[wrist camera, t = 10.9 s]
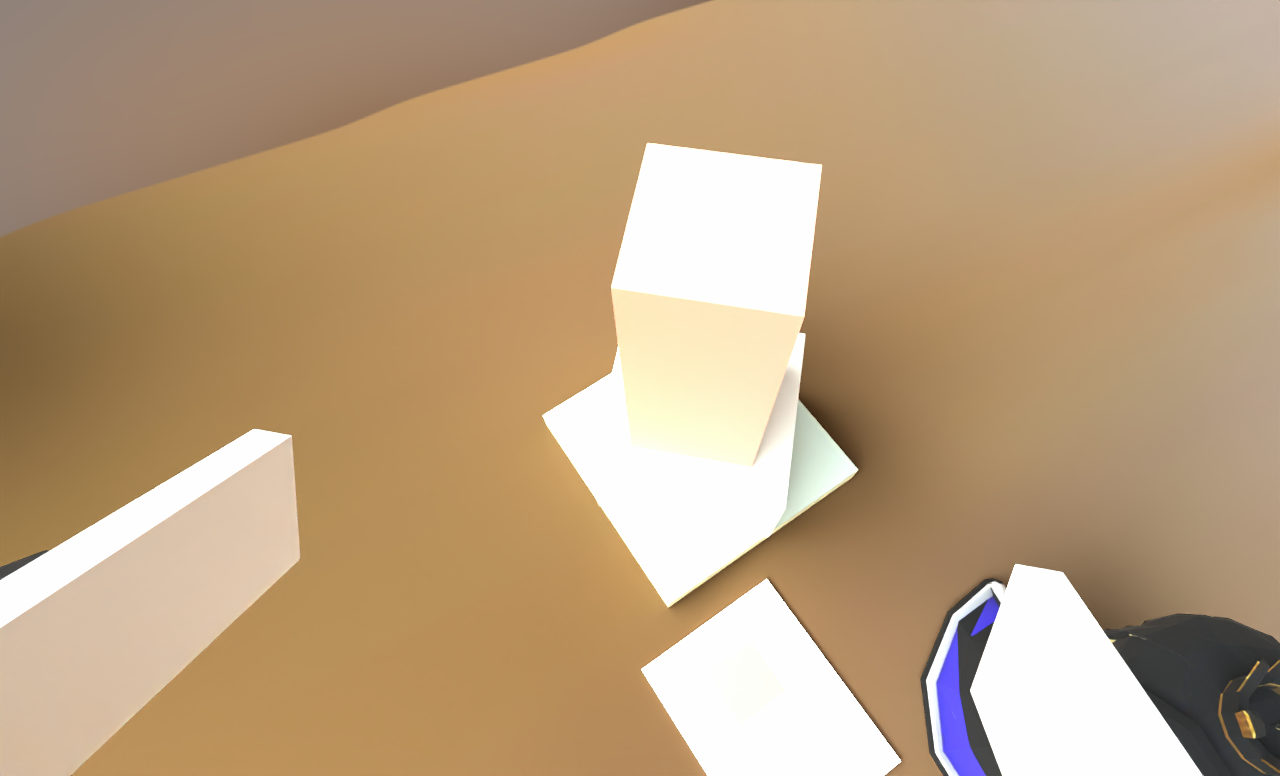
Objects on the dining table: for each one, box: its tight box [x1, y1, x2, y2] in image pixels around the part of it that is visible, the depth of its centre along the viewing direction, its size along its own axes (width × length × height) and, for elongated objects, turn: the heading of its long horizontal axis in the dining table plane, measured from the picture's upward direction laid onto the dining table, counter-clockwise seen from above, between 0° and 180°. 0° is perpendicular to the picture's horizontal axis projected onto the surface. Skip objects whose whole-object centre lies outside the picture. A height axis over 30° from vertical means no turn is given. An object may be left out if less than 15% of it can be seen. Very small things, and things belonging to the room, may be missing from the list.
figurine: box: [921, 578, 1280, 776], centre depth 23 cm, size 8×12×15 cm
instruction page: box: [641, 579, 901, 776], centre depth 31 cm, size 9×7×1 cm
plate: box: [543, 373, 858, 608], centre depth 35 cm, size 11×11×1 cm
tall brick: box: [611, 143, 822, 467], centre depth 25 cm, size 5×5×12 cm
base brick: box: [589, 333, 806, 537], centre depth 32 cm, size 8×8×5 cm
